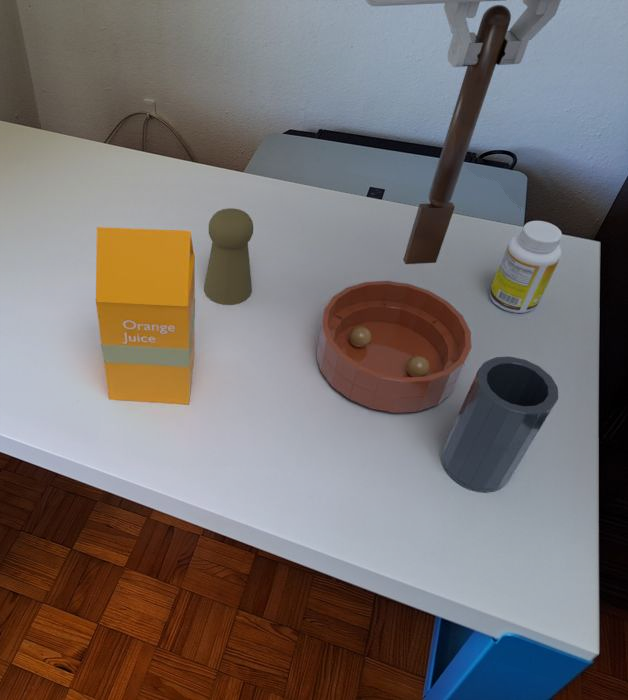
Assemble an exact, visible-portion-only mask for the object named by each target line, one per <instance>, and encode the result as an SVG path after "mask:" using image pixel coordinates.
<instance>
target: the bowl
mask: <svg viewBox="0 0 628 700" xmlns="http://www.w3.org/2000/svg"><path fill="white" fill-rule="evenodd" d="M322 313H323V314H322V318H321V319H322V320H321V324H320V329H319V335H318V341H317V346H316V352H315V357H316V359H317V363H318V366H319V367H318V368H319V370H320V373H321V374H322V375H323V376H324V378H325V379H326V381H327V382H328V383H329V384H330V385H331V387H332V388H333V389H335V390H336V391H337V392H339V393H340V394H342V395H343V396H344V397H346V398H347V399H348V400H350V401H353V402H355V403H357V404H359V405H362V406H363V407H366V408H369V409H371V410H376V411H381V412H388V413H395V414H399V413H400V414H401V413H415V412H416V413H417V412H421V411H424V410H426V409H429V408H432V407H435V406H437V405H440V403H442V402H443V401H444V400H445V399H446V398H448V397H449V396H450V395H452V393H453V391H454V389H455V388H456V387H455V386H456V385H457V383H458V380H459V378H460V376H461V374H462V372H463V369H464V367H465V364H466V361H467V359H468V357H469V354H470V353H471V351H472V332H471V330H470V327H469V325H468V323H467V322H466V319H465V318H464V316H463V314H461V313H460V312H459V311H458V310H457V309H456V308H455V306H453V305H452V304H451V303H450V302H449V301H447V300H446V299H445V298H443V297H440V296H439V295H438V294H436V293H434V292H432V291H431V290H429V289H426V288H423V287H419V286H417V285H414V284H411V283H406V282H399V281H392V280H375V281H364V282H361V283H357V284H354V285H351V286H347V287H346V288H344V289H343V290H341V291H339V292H338V293H336V294H335V295H333V296H332V297H331V299H330V300H329V302H328V303H327V305H326V306H325V307H324V308H323V312H322ZM358 326H363V327H365V328H367V329H368V330H369V331H370V333H371V341H370V343H369V344H368V345H367V346H365V347H361V348H359V347H355V346H354V345H352V344H351V342H350V340H349V334H350V332H351V330H352V329H353V328H355V327H358ZM414 356H422V357H424V358H426V359H427V360H428V362H429V364H430V370H429V372H428V374H427V375H426V376H424V377H412V376H410V375H409V374H408V372H407V370H406V364H407V362H408V360H409V359H410V358H412V357H414Z"/></svg>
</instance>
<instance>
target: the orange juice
mask: <svg viewBox="0 0 628 700" xmlns="http://www.w3.org/2000/svg"><path fill="white" fill-rule="evenodd" d="M95 257H96V263H95V264H96V266H95V306H96V312H97V320H98V328H99V334H100V335H99V336H100V342H101V344H100V346H101V354H102V360H103V364H104V370H105V371H104V372H105V378H106V387H107V392H108V400H109V401H110V400H111V401H112V400H113V401H124V402H125V401H126V402H141V403H142V402H143V403H159V404H174V405H187V406H188V405H190V400H191V391H192V381H193V372H194V363H195V353H196V352H195V351H196V350H195V347H196V345H195V344H196V343H195V333H196V331H195V324H196V323H195V321H196V319H195V318H196V297H195V295H196V294H195V293H196V292H195V291H196V289H195V287H196V286H195V285H196V282H195V281H196V277H195V275H196V273H195V271H196V270H195V269H196V267H195V265H196V263H195V260H196V258H195V257H196V254H195V252H194V245H193V239H192V230H183V229H182V230H180V229H179V230H178V229H177V230H176V229H157V228H156V229H155V228H154V229H153V228H130V227H128V228H127V227H106V226H105V227H102V226H101V227H100V226H97V227H96V256H95Z"/></svg>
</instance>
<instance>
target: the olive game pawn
mask: <svg viewBox="0 0 628 700" xmlns="http://www.w3.org/2000/svg"><path fill="white" fill-rule="evenodd" d="M208 235H209V238H210V240H211V247H210V252H209V258H208V263H207V268H206V269H207V270H206V275H205V280H204V285H203V290H204V291H203V292H204V294H205V296H206V297H207V298H208V299H209V300H210V301H212V302H214V303H216V304H218V305H219V304H220V305H224V306H234V305H238V304H239V305H240V304H241V303H243V302H245V301H247V299H249V298H250V297H251V295H252V292H253V287H252V286H253V285H252V273H251V264H250V251H249V242H250V241H251V239H252V237H253V235H254V221H253V220H252V217H250V214H248V213H247V212H246V211H244V210H243V209H238V208H233V207H232V208H231V207H230V208H222V209H220V210H218V211H216V212H215V213H214V214H213V215H212V216H211V217H210V220H209V221H208Z"/></svg>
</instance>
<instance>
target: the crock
mask: <svg viewBox="0 0 628 700" xmlns="http://www.w3.org/2000/svg"><path fill="white" fill-rule="evenodd" d="M558 401H559V388H558V385H557V383H556V382H555V380H554V379H553V377H552V376H551V375H550V374H549V373H548V372H546V371H545V370H544V369H543V368H542V367H541V366H539V365H537V364H536V363H533V362H531V361H529V360H527V359H524V358H519V357H514V356H495V357H493V358H491V359H488V360H486V361H484V362H483V363H482V364H481V366H480V367H479V368H478V370H477V372H476V374H475V376H474V378H473V380H472V382H471V384H470V387H469V389H468V392H467V394H466V396H465V398H464V401H463V403H462V405H461V407H460V410H459V412H458V414H457V416H456V418H455V421H454V422H453V425H452V428H451V429H450V431H449V434H448V437H447V438H446V441H445V443H444V445H443V448H442V451H441V464H442V467H443V468H444V471H445V472H446V473H447V475H448V476H449V477H450V478H451V479H452V480H453V481H454V482H455V483H456V484H458V485H459V486H461V487H463V488H465V489H467V490H470V491H473V492H476V493H492V492H493V493H494V492H497V491H500V490H501V489H503V488H504V487H506V486H507V485H508V483H509V481H510V480H511V478H512V477H513V475H514V473H515V472H516V470H517V469H518V467H519V465H520V463H521V462H522V460H523V459H524V457H525V455H526V453H527V452H528V450H529V448H530V447H531V445H532V443H533V442H534V440H535V438H536V437H537V435H538V433H539V432H540V430H541V429H542V427H543V425H544V423H546V420H547V418H548V417H549V415H550V414H551V412H552V410H553V409H554V407H555V406H556V403H557V402H558Z"/></svg>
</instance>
